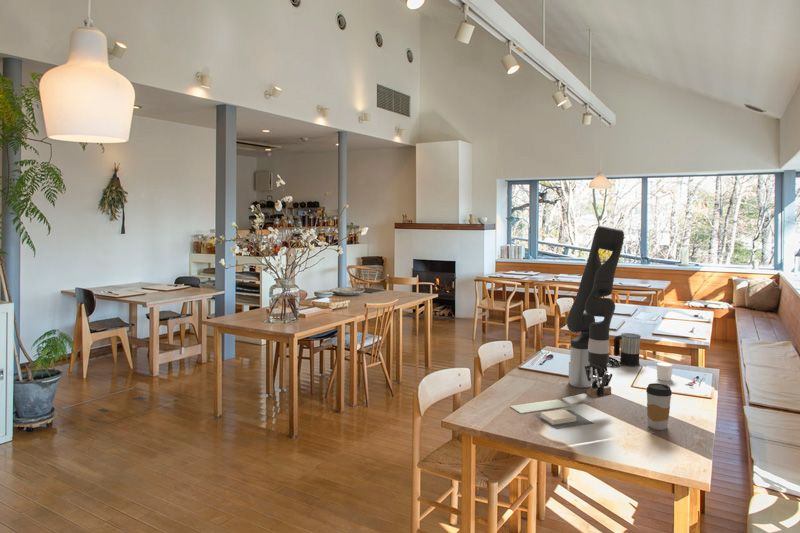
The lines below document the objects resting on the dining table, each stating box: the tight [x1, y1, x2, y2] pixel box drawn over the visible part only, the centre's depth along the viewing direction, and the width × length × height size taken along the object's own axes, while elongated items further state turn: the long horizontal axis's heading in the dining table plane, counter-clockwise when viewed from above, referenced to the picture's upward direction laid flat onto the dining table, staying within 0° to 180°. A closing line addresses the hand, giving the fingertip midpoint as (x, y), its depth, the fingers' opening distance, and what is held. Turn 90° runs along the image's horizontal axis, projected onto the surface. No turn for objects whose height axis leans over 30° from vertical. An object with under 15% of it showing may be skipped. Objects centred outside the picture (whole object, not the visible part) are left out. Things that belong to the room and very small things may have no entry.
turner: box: [561, 385, 612, 407], centre depth 216 cm, size 19×6×3 cm, turn 109°
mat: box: [533, 409, 594, 430], centre depth 214 cm, size 15×16×1 cm
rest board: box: [509, 399, 570, 415], centre depth 227 cm, size 8×22×1 cm, turn 109°
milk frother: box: [608, 332, 642, 367], centre depth 286 cm, size 14×16×15 cm
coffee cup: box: [645, 382, 672, 431], centre depth 206 cm, size 8×8×15 cm
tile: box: [540, 408, 576, 425], centre depth 213 cm, size 8×2×10 cm
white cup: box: [656, 361, 674, 382], centre depth 262 cm, size 7×7×7 cm
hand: (597, 394), depth 218 cm, fingers closed on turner, 2 cm apart
